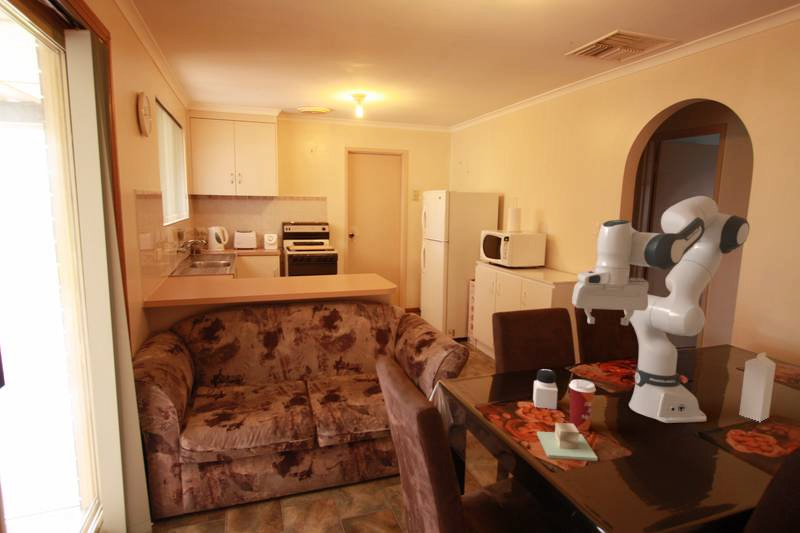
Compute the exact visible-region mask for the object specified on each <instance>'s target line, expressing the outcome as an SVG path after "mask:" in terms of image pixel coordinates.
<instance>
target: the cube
mask: <svg viewBox="0 0 800 533" xmlns="http://www.w3.org/2000/svg"><path fill="white" fill-rule="evenodd" d="M554 429H555V430H554V432H555V441H556V443H557V445H558V447H559V448H564V449H578V440H579V434H580V430H577V428H576V427H575V425H574V424H570V422H555V427H554Z"/></svg>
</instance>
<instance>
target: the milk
mask: <svg viewBox="0 0 800 533" xmlns="http://www.w3.org/2000/svg"><path fill="white" fill-rule="evenodd" d="M776 365H777V364H776V363H775V362H774V361H772V360H771V359H770V358H768V357H767V352H766V351H764V352H761V353H758V354H757V355H756V357H755V358H752V359H748V360H746V361H745V364H744V371H743V372H744V373H743V380H742V389H741V397H740V405H739V411H738V412H739V414H738V415H739V416H740V415H741V417H743V416H744V417H743V418H746V417H747V418H746V419H748V418H750V419H749V420H751V419H753V420H752V421H754V420H756V421H755V422H757V421H759V422H758V423H762V422H761V421H763V420H765V419H767V418H769V416H770V412H771V411H770V410H771V402H772V396H773V395H772V394H773V388H774V379H775V373H776V372H775V371H776ZM767 420H768V419H767ZM765 421H766V420H765ZM763 422H764V421H763Z"/></svg>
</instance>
